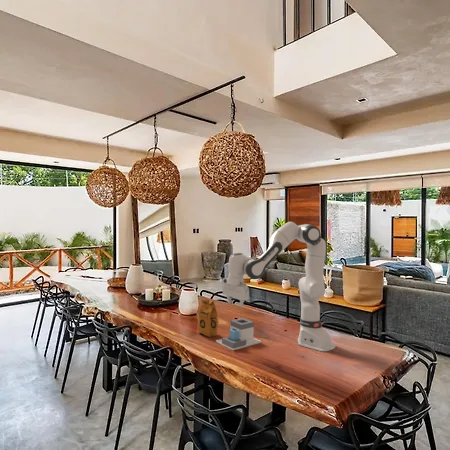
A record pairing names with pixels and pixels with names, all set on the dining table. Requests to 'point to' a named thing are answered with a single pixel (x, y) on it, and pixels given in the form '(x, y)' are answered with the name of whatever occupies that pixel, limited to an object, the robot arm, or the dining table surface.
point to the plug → (234, 334)
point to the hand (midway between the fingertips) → (235, 305)
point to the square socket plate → (245, 335)
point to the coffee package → (207, 318)
